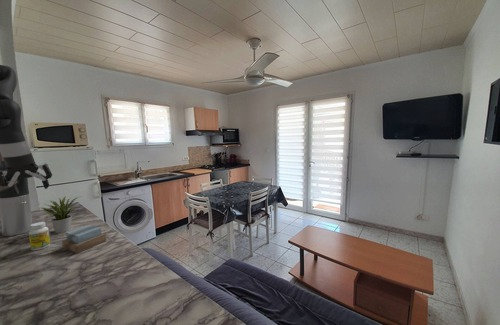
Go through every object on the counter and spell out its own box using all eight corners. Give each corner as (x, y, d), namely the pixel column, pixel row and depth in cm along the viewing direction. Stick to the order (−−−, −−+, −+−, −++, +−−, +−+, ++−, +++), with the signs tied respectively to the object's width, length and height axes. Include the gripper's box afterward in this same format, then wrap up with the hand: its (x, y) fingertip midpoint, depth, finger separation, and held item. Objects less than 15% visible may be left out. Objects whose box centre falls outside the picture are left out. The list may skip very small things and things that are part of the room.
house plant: (76, 221, 103) (73, 191, 102) (91, 226, 97) (88, 193, 96) (38, 232, 91) (34, 197, 89) (52, 238, 85) (48, 201, 83)
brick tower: (62, 247, 77) (61, 233, 77) (91, 236, 86) (90, 223, 86) (77, 253, 73) (76, 237, 73) (106, 240, 83) (104, 227, 82)
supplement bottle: (52, 242, 82) (49, 220, 81) (48, 248, 77) (45, 224, 76) (33, 246, 79) (30, 223, 78) (28, 252, 74) (25, 227, 73)
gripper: (44, 148, 83) (57, 183, 88) (-8, 154, 75) (10, 192, 81) (40, 152, 77) (54, 189, 83) (-16, 159, 69) (3, 199, 75)
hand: (32, 190), depth 82 cm, fingers open, 8 cm apart
